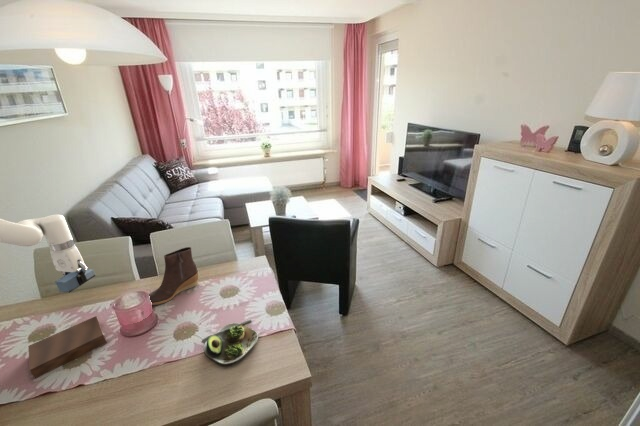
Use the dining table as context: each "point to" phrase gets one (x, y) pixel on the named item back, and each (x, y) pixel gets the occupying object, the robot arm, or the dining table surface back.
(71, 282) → the stepped blue block
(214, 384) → the dining table surface
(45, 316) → the dining table surface
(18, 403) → the dining table surface
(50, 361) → the brown wooden block
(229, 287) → the dining table surface
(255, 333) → the salad plate
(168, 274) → the boot
